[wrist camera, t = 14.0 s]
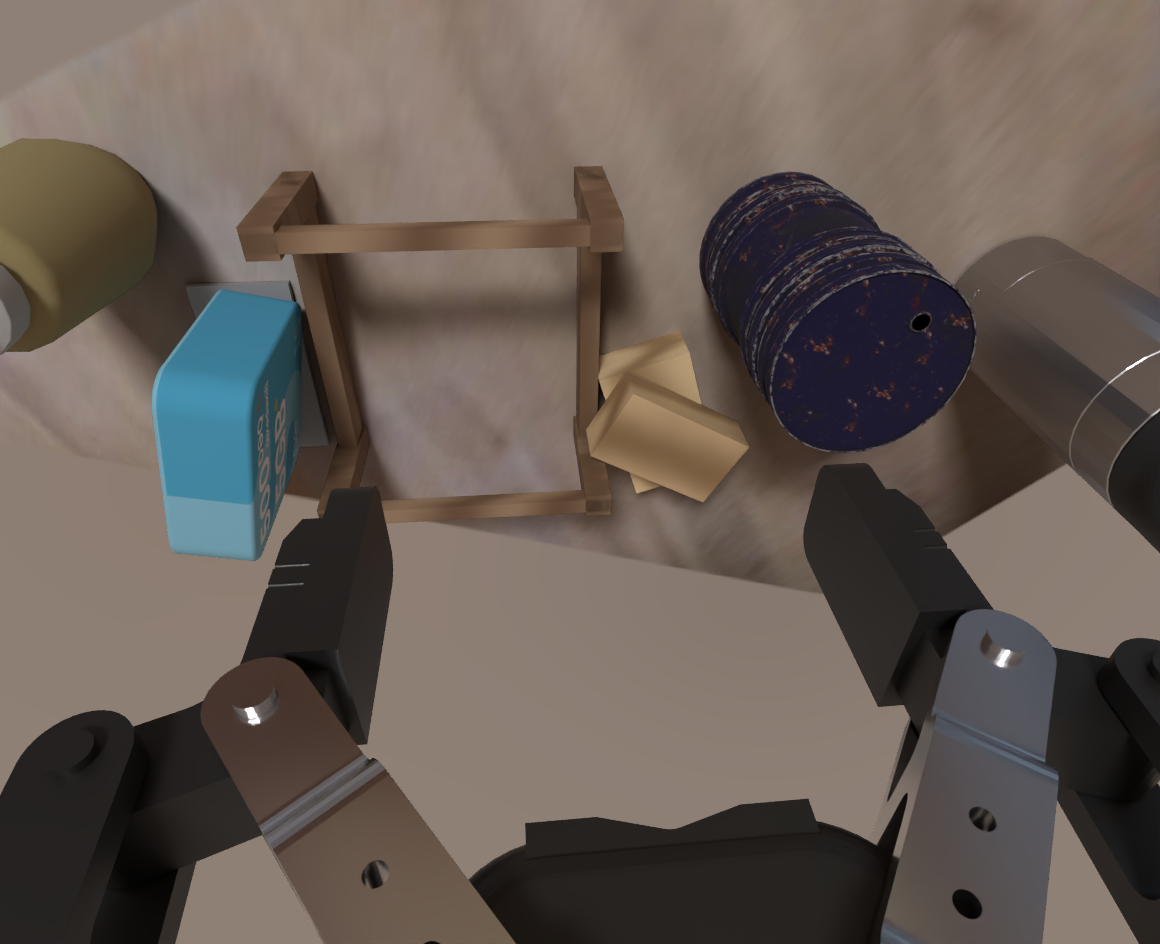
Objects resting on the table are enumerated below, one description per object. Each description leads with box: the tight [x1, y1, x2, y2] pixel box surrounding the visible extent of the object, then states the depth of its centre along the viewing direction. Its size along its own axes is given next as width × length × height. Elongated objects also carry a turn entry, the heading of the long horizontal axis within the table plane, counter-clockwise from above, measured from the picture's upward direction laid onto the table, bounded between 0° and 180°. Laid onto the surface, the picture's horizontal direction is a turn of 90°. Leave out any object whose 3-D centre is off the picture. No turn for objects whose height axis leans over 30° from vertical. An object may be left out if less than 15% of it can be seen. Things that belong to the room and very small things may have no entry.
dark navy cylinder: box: [699, 172, 977, 453], centre depth 39 cm, size 10×10×15 cm
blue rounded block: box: [151, 289, 302, 561], centre depth 42 cm, size 12×4×12 cm, turn 166°
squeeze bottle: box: [0, 138, 158, 355], centre depth 33 cm, size 8×8×18 cm
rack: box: [236, 166, 624, 523], centre depth 43 cm, size 18×19×9 cm
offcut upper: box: [586, 370, 749, 502], centre depth 48 cm, size 5×9×3 cm, turn 60°
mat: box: [185, 281, 330, 447], centre depth 47 cm, size 6×12×1 cm, turn 179°
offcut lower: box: [598, 331, 701, 493], centre depth 50 cm, size 6×10×4 cm, turn 17°
